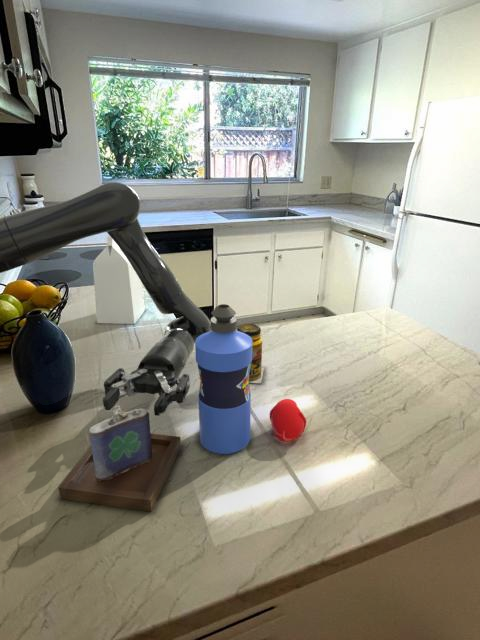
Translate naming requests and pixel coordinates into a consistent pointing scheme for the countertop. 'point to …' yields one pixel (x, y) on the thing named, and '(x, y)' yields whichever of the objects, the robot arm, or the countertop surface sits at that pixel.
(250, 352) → the water bottle
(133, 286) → the milk
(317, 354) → the countertop surface
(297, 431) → the cap
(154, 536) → the countertop surface
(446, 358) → the countertop surface
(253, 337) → the condiment
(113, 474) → the flask
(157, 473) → the tray
